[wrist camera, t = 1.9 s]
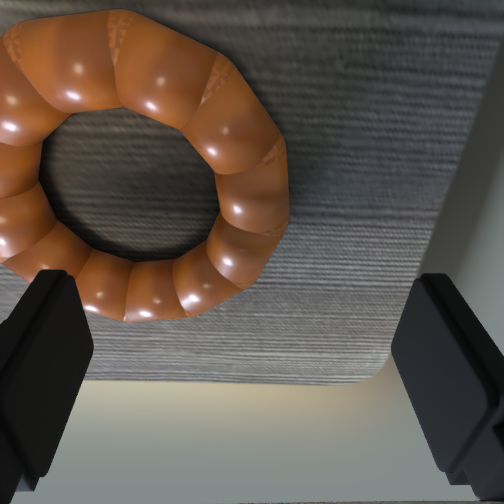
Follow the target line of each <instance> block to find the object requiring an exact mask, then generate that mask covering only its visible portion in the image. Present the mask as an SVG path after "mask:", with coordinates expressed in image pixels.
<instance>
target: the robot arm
mask: <svg viewBox="0 0 504 504" xmlns="http://www.w3.org/2000/svg"><path fill="white" fill-rule="evenodd" d="M93 349H94V344H93V340H92V336H91V333H90V329H89V326H88V322H87V319H86V316H85V312H84V309H83V305H82V302H81V299H80V295H79V292H78V288H77V285H76V281H75V278H74V276H73V275H68V273H67V272H66V270H63V269H42V270H40V271H39V272H38V273H37V275H36V276H35V278H34V279H33V281H32V282H31V284H30V285H29V287H28V288H27V290H26V291H25V293H24V294H23V296H22V297H21V299H20V300H19V302H18V303H17V305H16V306H15V308H14V309H13V311H12V312H11V314H10V315H9V317H8V318H7V319H6V320H4V321H3V322H2V323H1V324H0V504H9V503H10V502H11V500H12V498H13V496H14V493H15V492H18V491H20V492H22V491H34V490H35V488H36V485H37V483H38V480H39V477H44V476H45V475H46V474H47V473H48V471H49V468H50V466H51V463H52V461H53V458H54V455H55V453H56V450H57V447H58V445H59V442H60V439H61V437H62V434H63V431H64V429H65V426H66V423H67V421H68V418H69V416H70V413H71V410H72V408H73V405H74V402H75V399H76V397H77V395H78V392H79V389H80V386H81V384H82V381H83V379H84V376H85V373H86V371H87V368H88V366H89V363H90V360H91V358H92V355H93ZM391 352H392V356H393V358H394V361H395V364H396V366H397V369H398V371H399V373H400V376H401V378H402V381H403V383H404V386H405V388H406V390H407V393H408V396H409V398H410V400H411V403H412V406H413V408H414V411H415V413H416V415H417V418H418V420H419V423H420V425H421V428H422V430H423V433H424V435H425V438H426V440H427V443H428V445H429V448H430V450H431V452H432V455H433V458H434V460H435V463H436V465H437V467H438V468H439V470H440V471H442V472H445V473H446V476H447V478H448V481H449V483H450V485H471V487H472V490H473V492H474V494H475V496H476V498H475V501H380V502H379V501H376V502H304V503H303V502H300V503H244V504H504V356H503V355H502V353H501V352H500V350H499V349H498V347H497V346H496V345H495V343H494V342H493V340H492V339H491V337H490V336H489V334H488V333H487V331H486V330H485V329H484V327H483V326H482V324H481V323H480V321H479V320H478V318H477V317H476V316H475V314H474V313H473V311H472V310H471V308H470V307H469V306H468V304H467V303H466V301H465V300H464V298H463V297H462V295H461V294H460V293H459V291H458V290H457V288H456V287H455V285H454V284H453V282H452V281H451V280H450V278H449V277H448V276H447V275H446V274H440V273H437V274H436V273H433V274H431V273H425V274H422V275H421V276H420V278H417V279H415V280H414V282H413V285H412V288H411V291H410V293H409V296H408V299H407V302H406V304H405V307H404V310H403V313H402V315H401V318H400V321H399V324H398V327H397V329H396V332H395V335H394V338H393V340H392V344H391ZM241 504H243V503H241Z"/></svg>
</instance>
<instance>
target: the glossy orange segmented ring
mask: <svg viewBox="0 0 504 504" xmlns="http://www.w3.org/2000/svg"><path fill="white" fill-rule="evenodd" d="M122 107H125V108H128V109H130V110H132V111H135V112H137V113H140V114H142V115H145V116H147V117H149V118H152V119H154V120H157V121H159V122H161V123H164V124H166V125H169V126H171V127H173V128H176V129H178V130H180V131H181V132H182V134H183V135H184V136H185V137H186V138H187V139H188V141H189V142H190V143H191V144H192V145H193V147H194V148H195V149H196V150H197V151H198V152H199V154H200V155H201V156H202V157H203V158H204V159H205V161H206V162H207V163H208V164H209V165H210V167H211V168H212V169H213V170H214V176H215V181H216V187H217V193H218V198H219V204H220V212H219V214H218V216H217V218H216V220H215V223H214V225H213V227H212V229H211V232H210V234H209V236H208V238H207V240H205V241H204V242H202V243H201V244H199V245H198V246H196V247H194V248H193V249H191V250H190V251H188V252H187V253H185V254H184V255H182V256H180V257H179V258H177V259H167V260H156V261H146V262H134V261H130V260H127V259H124V258H121V257H118V256H115V255H111V254H108V253H105V252H102V251H99V250H96V249H93V248H92V247H90V246H89V245H88V244H87V243H86V242H84V241H83V240H82V239H81V238H79V237H78V236H77V235H76V234H75V233H73V232H72V231H71V230H70V229H69V228H67V227H66V226H65V225H64V224H63V223H61V222H60V221H59V220H58V219H57V218H56V216H55V214H54V212H53V210H52V208H51V206H50V203H49V201H48V199H47V197H46V195H45V193H44V191H43V189H42V186H41V184H40V182H39V180H38V174H39V167H40V159H41V152H42V145H43V140H44V139H45V138H46V137H47V136H49V135H50V134H51V133H52V132H53V131H54V130H55V129H56V128H57V127H58V126H59V125H61V124H62V123H63V122H64V121H65V120H66V119H67V118H68V117H69V116H70V115H71V114H72V113H78V112H87V111H96V110H104V109H113V108H122ZM289 220H290V204H289V186H288V168H287V150H286V143H285V140H284V137H283V135H282V133H281V132H280V130H279V128H278V127H277V126H276V124H275V123H274V121H273V120H272V118H271V117H270V115H269V114H268V113H267V111H266V110H265V108H264V107H263V105H262V104H261V103H260V101H259V100H258V98H257V97H256V95H255V94H254V92H253V91H252V90H251V88H250V87H249V85H248V84H247V82H246V81H245V79H244V78H243V77H242V75H241V74H240V72H239V71H238V69H237V68H236V67H235V65H234V64H233V63H232V62H231V61H230V60H229V59H228V58H227V57H226V56H224V55H223V54H221V53H220V52H218V51H216V50H214V49H212V48H210V47H207V46H205V45H203V44H201V43H199V42H197V41H195V40H193V39H191V38H189V37H187V36H184V35H182V34H180V33H178V32H176V31H174V30H172V29H170V28H168V27H166V26H164V25H162V24H159V23H157V22H155V21H153V20H151V19H149V18H147V17H145V16H143V15H141V14H139V13H136V12H134V11H130V10H125V9H110V10H102V11H94V12H86V13H78V14H70V15H63V16H55V17H47V18H39V19H31V20H26V21H22V22H19V23H17V24H15V25H13V26H12V27H10V28H9V29H8V30H7V31H6V32H5V33H4V34H3V35H2V36H1V37H0V263H1V264H3V265H4V266H6V267H7V268H9V269H10V270H11V271H13V272H14V273H16V274H17V275H18V276H20V277H21V278H23V279H24V280H26V281H27V282H28V283H30V284H31V282H32V281H33V279H34V278H35V276H36V275H37V273H38V272H39V271H40V270H42V269H63V270H66V272H67V273H68V275H73V276H74V278H75V281H76V285H77V288H78V292H79V295H80V299H81V302H82V305H83V309H84V311H87V312H91V313H94V314H98V315H102V316H105V317H109V318H113V319H116V320H120V321H124V322H144V321H155V320H167V319H178V318H189V317H195V316H197V315H200V314H202V313H204V312H206V311H207V310H209V309H211V308H213V307H214V306H216V305H218V304H220V303H222V302H223V301H225V300H227V299H229V298H231V297H232V296H234V295H236V294H238V293H239V292H241V291H243V290H245V289H247V288H248V287H250V286H251V285H252V284H253V283H254V282H255V281H256V280H257V279H258V277H259V275H260V274H261V272H262V270H263V269H264V267H265V265H266V263H267V262H268V260H269V258H270V257H271V255H272V253H273V252H274V250H275V248H276V246H277V245H278V243H279V241H280V240H281V238H282V236H283V234H284V233H285V231H286V229H287V227H288V224H289Z"/></svg>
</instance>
